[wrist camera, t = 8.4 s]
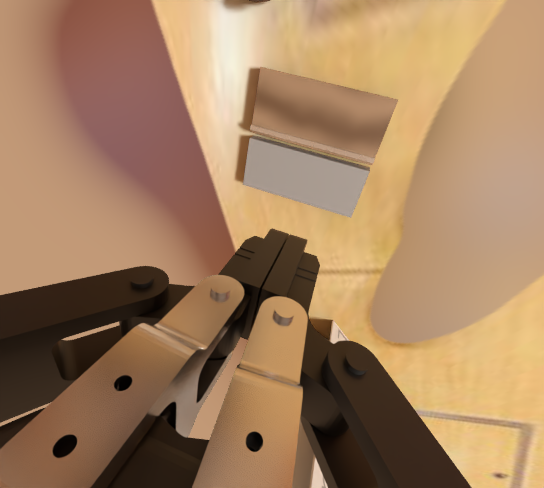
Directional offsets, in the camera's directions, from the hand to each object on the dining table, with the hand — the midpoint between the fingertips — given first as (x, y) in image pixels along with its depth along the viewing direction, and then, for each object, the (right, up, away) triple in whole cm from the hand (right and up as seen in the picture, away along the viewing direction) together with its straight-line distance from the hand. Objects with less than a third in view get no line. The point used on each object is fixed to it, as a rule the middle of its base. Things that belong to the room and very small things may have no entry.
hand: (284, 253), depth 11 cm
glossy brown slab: (+6, +17, +25) cm, 31 cm away
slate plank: (+4, +11, +29) cm, 32 cm away
